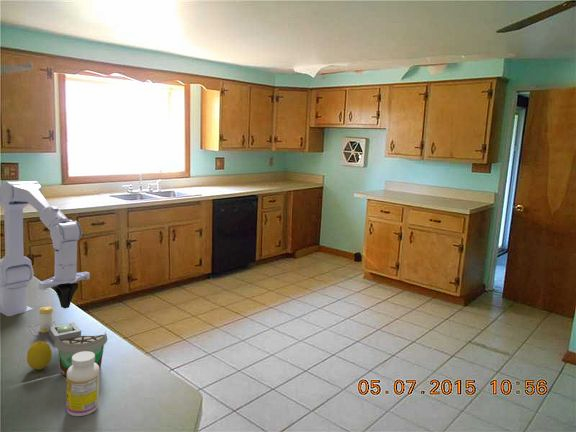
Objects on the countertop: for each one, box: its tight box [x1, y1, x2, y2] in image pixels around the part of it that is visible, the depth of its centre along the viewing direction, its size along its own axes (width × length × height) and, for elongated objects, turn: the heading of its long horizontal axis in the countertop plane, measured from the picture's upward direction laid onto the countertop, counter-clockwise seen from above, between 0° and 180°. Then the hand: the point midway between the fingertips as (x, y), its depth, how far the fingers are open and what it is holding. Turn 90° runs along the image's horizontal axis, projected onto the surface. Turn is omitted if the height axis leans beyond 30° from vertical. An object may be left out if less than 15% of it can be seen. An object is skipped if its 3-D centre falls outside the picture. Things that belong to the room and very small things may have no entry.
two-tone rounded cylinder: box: [39, 305, 54, 334], centre depth 131 cm, size 4×4×7 cm
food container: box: [54, 332, 108, 379], centre depth 110 cm, size 12×6×10 cm, turn 117°
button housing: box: [48, 321, 82, 344], centre depth 129 cm, size 7×7×2 cm
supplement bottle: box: [65, 351, 100, 417], centre depth 97 cm, size 7×7×13 cm
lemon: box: [26, 340, 53, 371], centre depth 110 cm, size 6×6×8 cm
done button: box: [57, 324, 72, 334], centre depth 129 cm, size 4×4×3 cm
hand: (65, 307), depth 128 cm, fingers closed
